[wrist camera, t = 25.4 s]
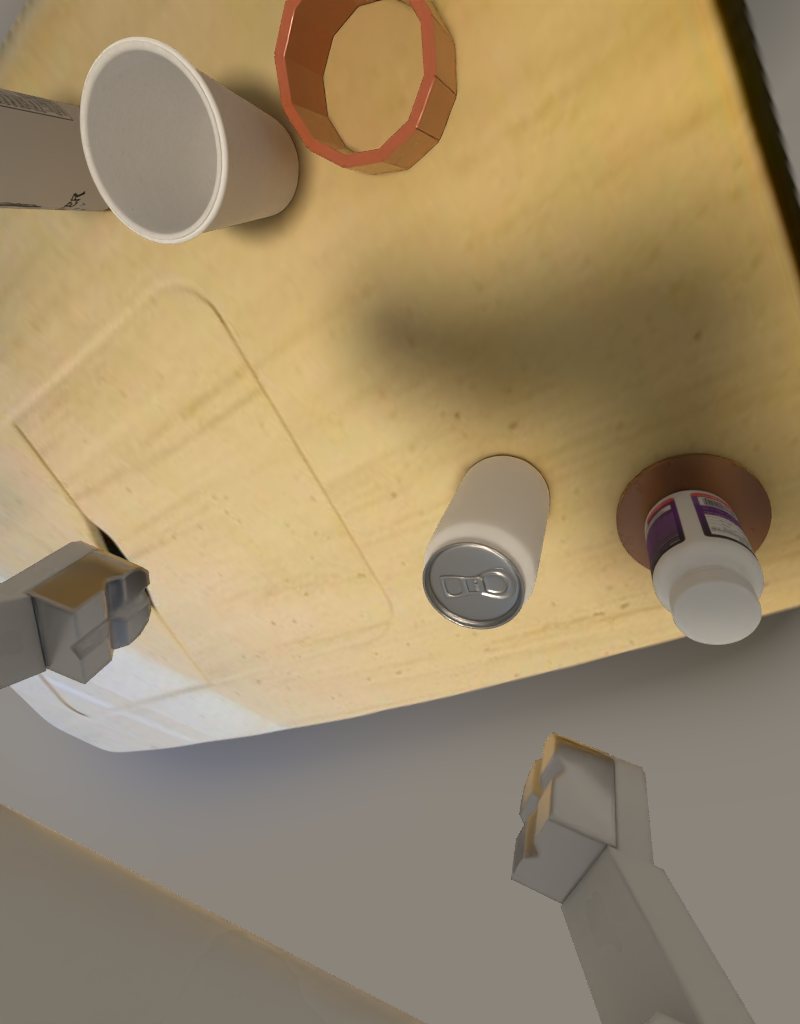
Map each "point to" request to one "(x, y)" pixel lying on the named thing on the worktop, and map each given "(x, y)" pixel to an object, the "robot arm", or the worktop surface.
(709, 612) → the pill bottle
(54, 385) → the worktop surface
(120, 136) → the dixie cup
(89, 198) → the energy drink can
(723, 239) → the worktop surface
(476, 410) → the worktop surface
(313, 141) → the holder cup
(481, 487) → the can
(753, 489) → the coaster
